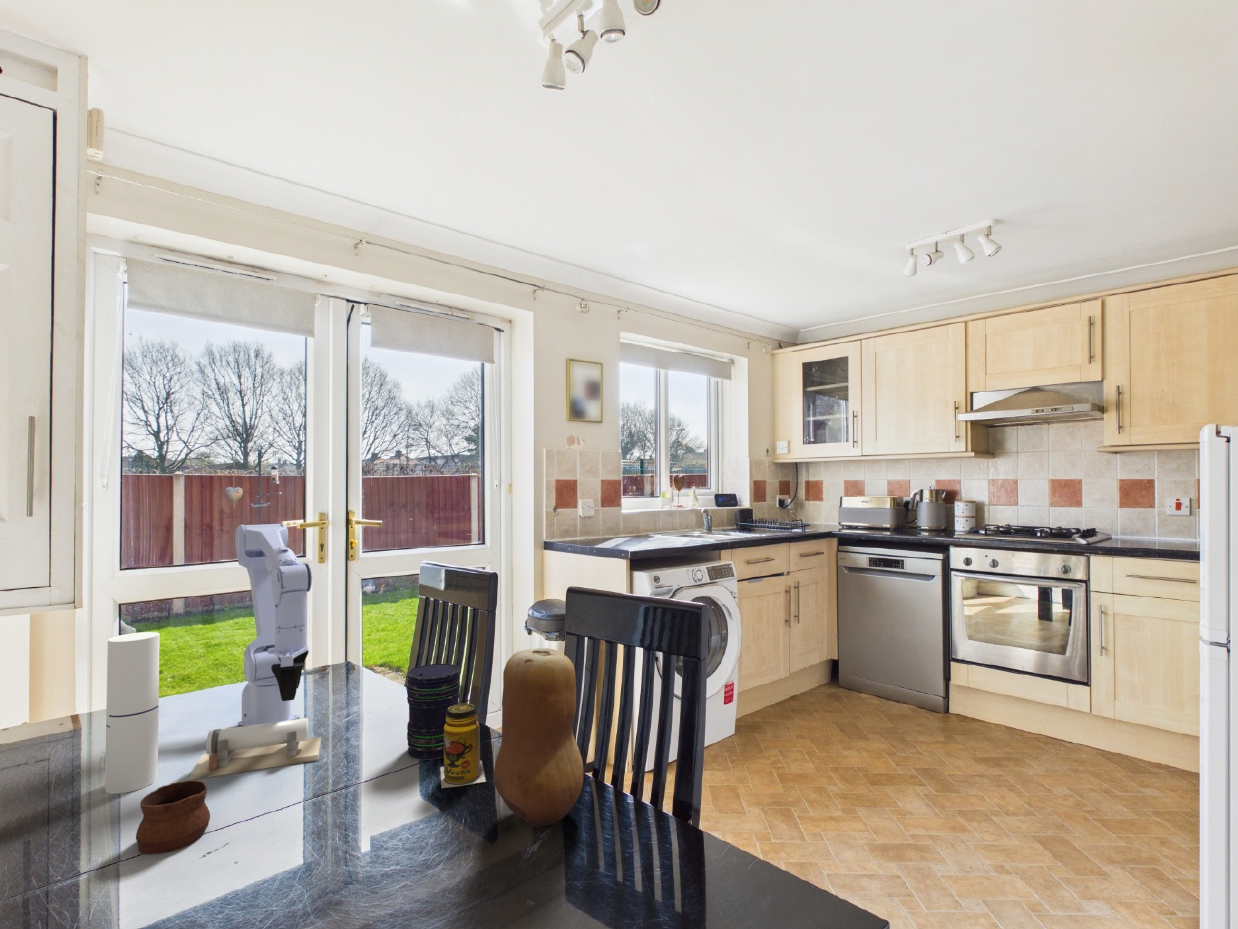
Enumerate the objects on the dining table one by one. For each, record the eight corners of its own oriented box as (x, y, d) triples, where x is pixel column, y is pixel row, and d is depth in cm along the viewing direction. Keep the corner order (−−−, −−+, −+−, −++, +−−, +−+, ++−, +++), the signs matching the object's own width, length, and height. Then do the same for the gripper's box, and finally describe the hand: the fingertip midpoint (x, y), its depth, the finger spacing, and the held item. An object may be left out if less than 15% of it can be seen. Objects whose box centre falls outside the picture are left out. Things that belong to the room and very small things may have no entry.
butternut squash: (601, 809, 98) (599, 646, 99) (548, 853, 86) (547, 668, 87) (530, 788, 105) (529, 637, 106) (473, 826, 93) (473, 655, 94)
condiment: (441, 789, 105) (441, 716, 106) (440, 768, 113) (440, 700, 114) (486, 783, 107) (485, 711, 108) (481, 762, 115) (481, 696, 116)
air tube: (308, 734, 122) (308, 713, 122) (306, 745, 119) (306, 723, 118) (211, 747, 116) (211, 726, 116) (206, 759, 113) (206, 737, 112)
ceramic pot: (267, 830, 93) (267, 781, 94) (121, 896, 79) (121, 838, 79) (213, 799, 104) (213, 755, 104) (75, 852, 89) (75, 801, 89)
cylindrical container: (128, 795, 104) (131, 642, 105) (93, 791, 106) (96, 640, 106) (167, 775, 111) (169, 632, 112) (134, 772, 113) (136, 631, 113)
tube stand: (190, 780, 109) (190, 747, 110) (203, 759, 118) (203, 729, 118) (318, 760, 117) (318, 730, 117) (321, 742, 125) (321, 714, 125)
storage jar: (440, 734, 128) (440, 660, 129) (470, 747, 122) (470, 669, 123) (396, 751, 121) (396, 672, 121) (426, 765, 114) (426, 681, 115)
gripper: (273, 620, 132) (272, 686, 131) (262, 635, 118) (262, 708, 118) (311, 617, 134) (310, 681, 134) (304, 631, 121) (304, 703, 120)
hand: (290, 694), depth 126 cm, fingers open, 7 cm apart
